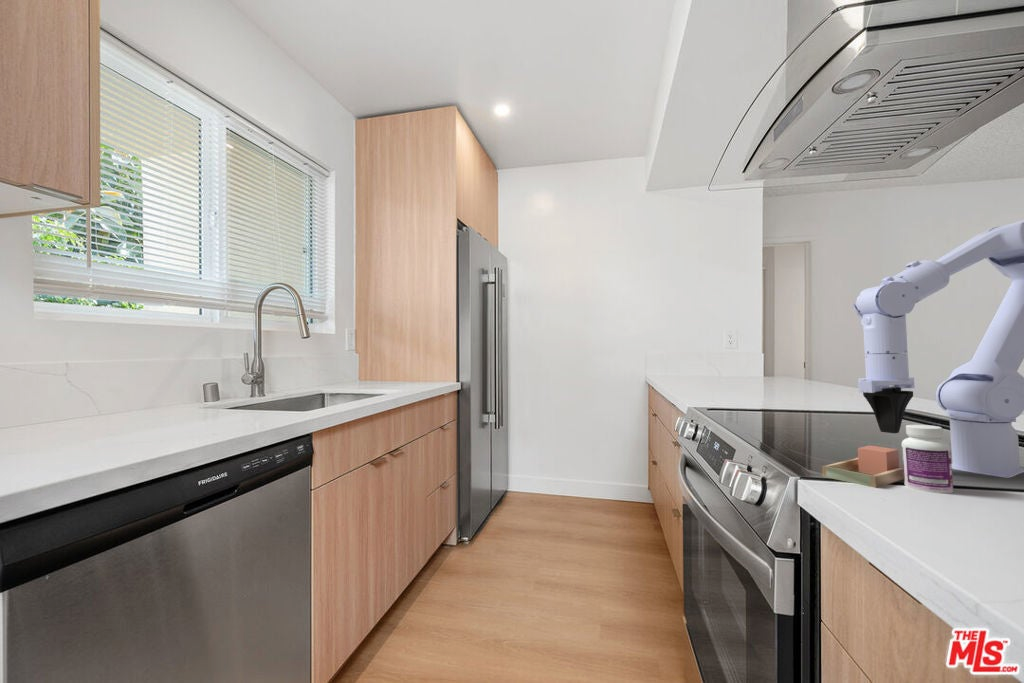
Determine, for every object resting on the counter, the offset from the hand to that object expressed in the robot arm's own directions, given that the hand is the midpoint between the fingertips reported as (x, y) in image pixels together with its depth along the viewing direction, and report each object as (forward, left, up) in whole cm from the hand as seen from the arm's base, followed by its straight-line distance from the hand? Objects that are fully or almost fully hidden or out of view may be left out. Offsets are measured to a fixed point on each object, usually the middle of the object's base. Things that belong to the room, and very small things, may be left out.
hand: (889, 432), depth 75 cm
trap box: (+6, 0, -7) cm, 9 cm away
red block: (+4, 0, -6) cm, 8 cm away
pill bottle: (+7, +8, -7) cm, 13 cm away
